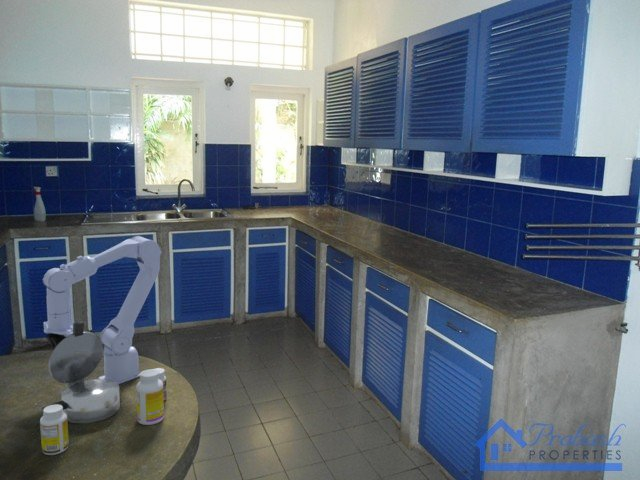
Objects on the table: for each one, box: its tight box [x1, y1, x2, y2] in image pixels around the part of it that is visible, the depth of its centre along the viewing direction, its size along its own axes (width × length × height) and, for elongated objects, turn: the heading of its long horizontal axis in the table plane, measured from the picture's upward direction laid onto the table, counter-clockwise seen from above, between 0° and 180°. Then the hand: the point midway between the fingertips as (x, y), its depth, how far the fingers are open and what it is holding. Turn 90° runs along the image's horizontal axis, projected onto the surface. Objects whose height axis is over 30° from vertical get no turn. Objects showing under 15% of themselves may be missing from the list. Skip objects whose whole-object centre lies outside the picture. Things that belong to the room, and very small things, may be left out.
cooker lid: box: [47, 320, 104, 387], centre depth 138 cm, size 15×18×1 cm
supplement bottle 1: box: [39, 404, 70, 456], centre depth 117 cm, size 6×6×10 cm
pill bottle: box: [154, 367, 168, 401], centre depth 143 cm, size 5×5×8 cm
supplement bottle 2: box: [135, 368, 165, 426], centre depth 131 cm, size 7×7×13 cm
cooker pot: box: [41, 378, 121, 424], centre depth 134 cm, size 19×14×6 cm
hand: (61, 358), depth 143 cm, fingers closed
